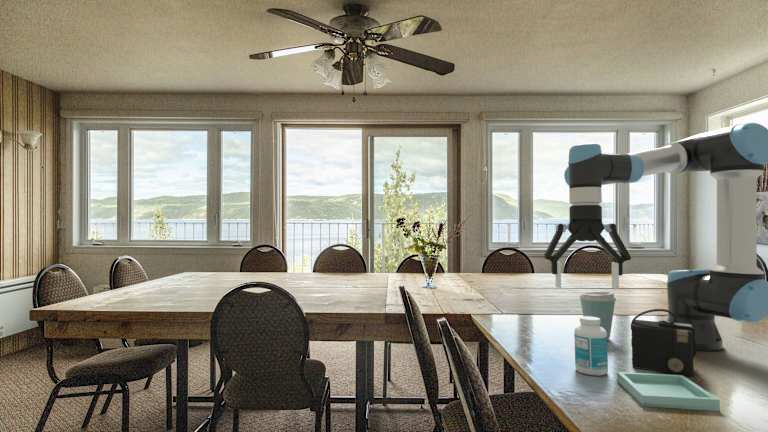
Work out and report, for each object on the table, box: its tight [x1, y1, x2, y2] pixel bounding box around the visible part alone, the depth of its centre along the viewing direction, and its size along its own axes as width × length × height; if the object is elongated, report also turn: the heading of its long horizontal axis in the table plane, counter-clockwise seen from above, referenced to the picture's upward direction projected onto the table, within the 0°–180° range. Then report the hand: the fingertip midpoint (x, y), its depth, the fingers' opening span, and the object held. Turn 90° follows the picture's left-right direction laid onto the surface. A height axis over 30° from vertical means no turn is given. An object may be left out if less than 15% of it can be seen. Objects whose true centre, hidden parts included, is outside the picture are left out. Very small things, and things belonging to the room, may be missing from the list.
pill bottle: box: [574, 315, 609, 377], centre depth 106 cm, size 8×7×14 cm
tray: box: [616, 371, 721, 412], centre depth 91 cm, size 14×14×2 cm
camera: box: [630, 308, 697, 377], centre depth 109 cm, size 11×14×15 cm
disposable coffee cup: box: [579, 291, 617, 341], centre depth 138 cm, size 11×11×15 cm
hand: (586, 288), depth 107 cm, fingers open, 13 cm apart
